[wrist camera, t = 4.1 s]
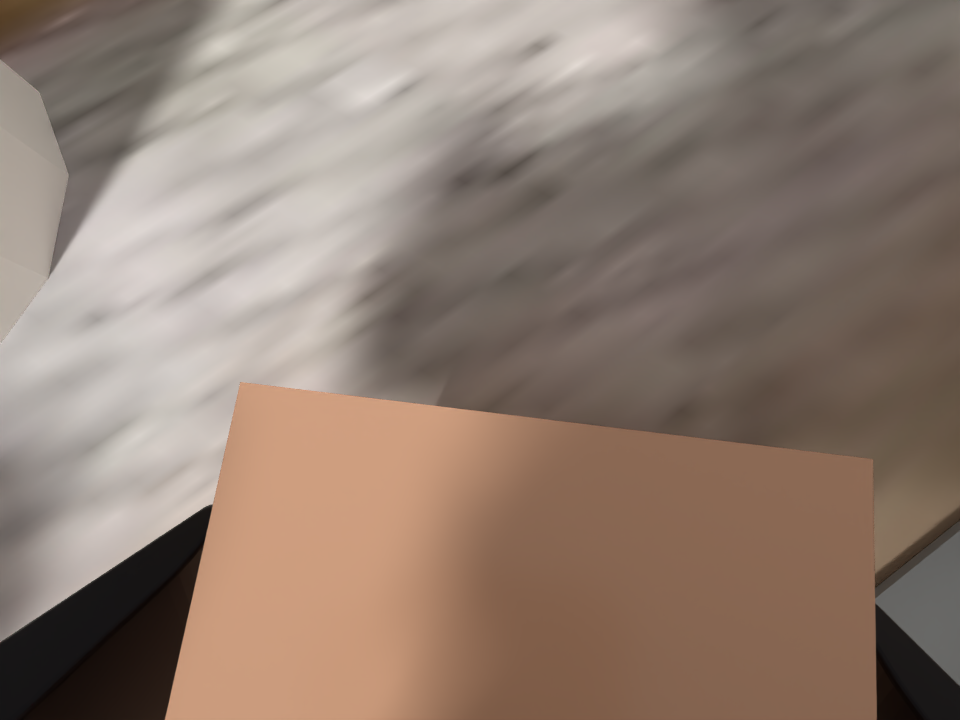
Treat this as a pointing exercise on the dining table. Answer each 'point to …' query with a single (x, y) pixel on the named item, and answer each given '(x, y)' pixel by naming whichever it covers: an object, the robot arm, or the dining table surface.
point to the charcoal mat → (929, 600)
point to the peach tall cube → (523, 572)
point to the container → (26, 195)
